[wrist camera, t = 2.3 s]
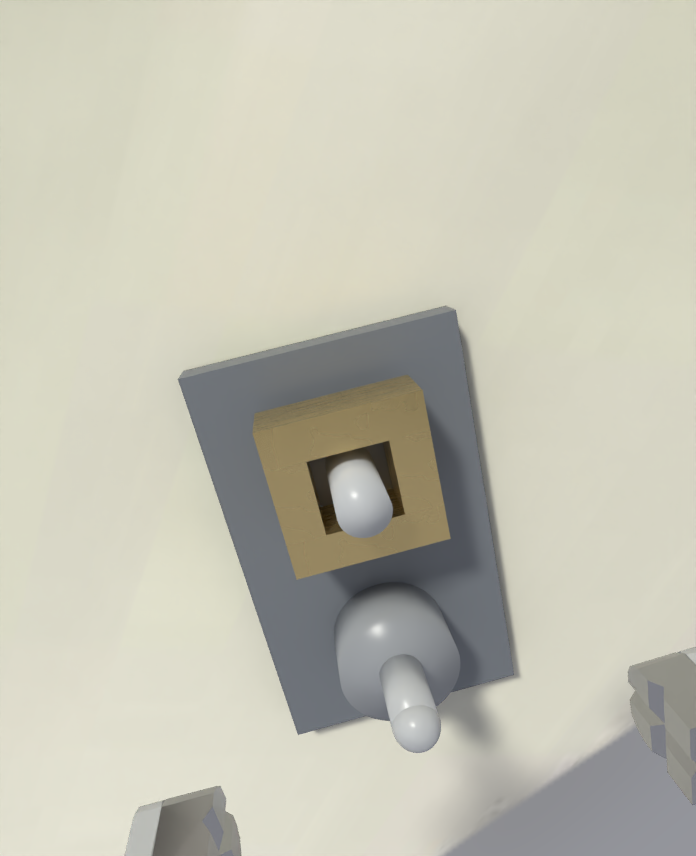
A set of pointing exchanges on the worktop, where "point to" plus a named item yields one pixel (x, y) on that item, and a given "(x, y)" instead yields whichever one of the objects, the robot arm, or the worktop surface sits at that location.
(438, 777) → the worktop surface
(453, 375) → the mount board
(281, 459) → the tan square ring
